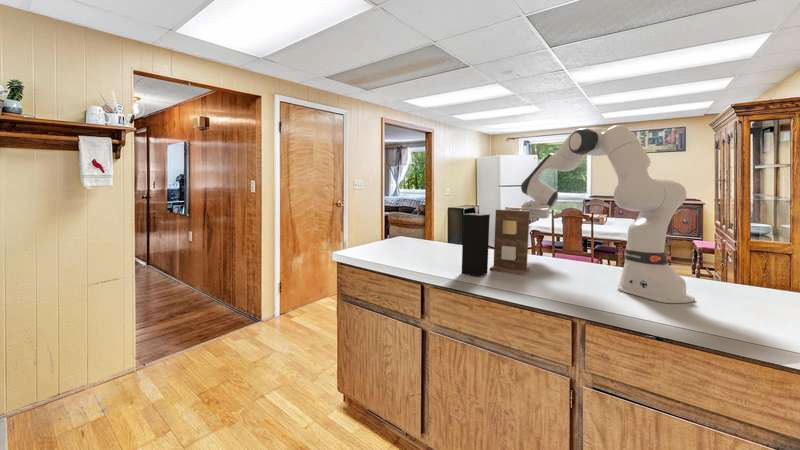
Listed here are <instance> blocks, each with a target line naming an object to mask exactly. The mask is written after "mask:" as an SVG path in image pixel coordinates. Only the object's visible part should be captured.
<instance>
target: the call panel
mask: <svg viewBox="0 0 800 450" xmlns="http://www.w3.org/2000/svg"><path fill="white" fill-rule="evenodd" d="M529 215H530V211H519V210H505V209H499V208H498V209H495V219H494V220H495V222H494V224H495V225H494V241H493V242H494V249H493V266H490V267H489V271H493V272H499V273H507V274H513V275H519V276H525V274H527V273H528V272H529V271H530V267H528V255H529V254H528V253H529V235H530V234H529V233H530V232H529V230H530V220H529ZM503 220H509V221H517V232H516V235H514V234H503V233H502V231H503ZM502 246H509V247H516V257H515V261H513V260H505V259H501V255H502Z"/></svg>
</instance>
